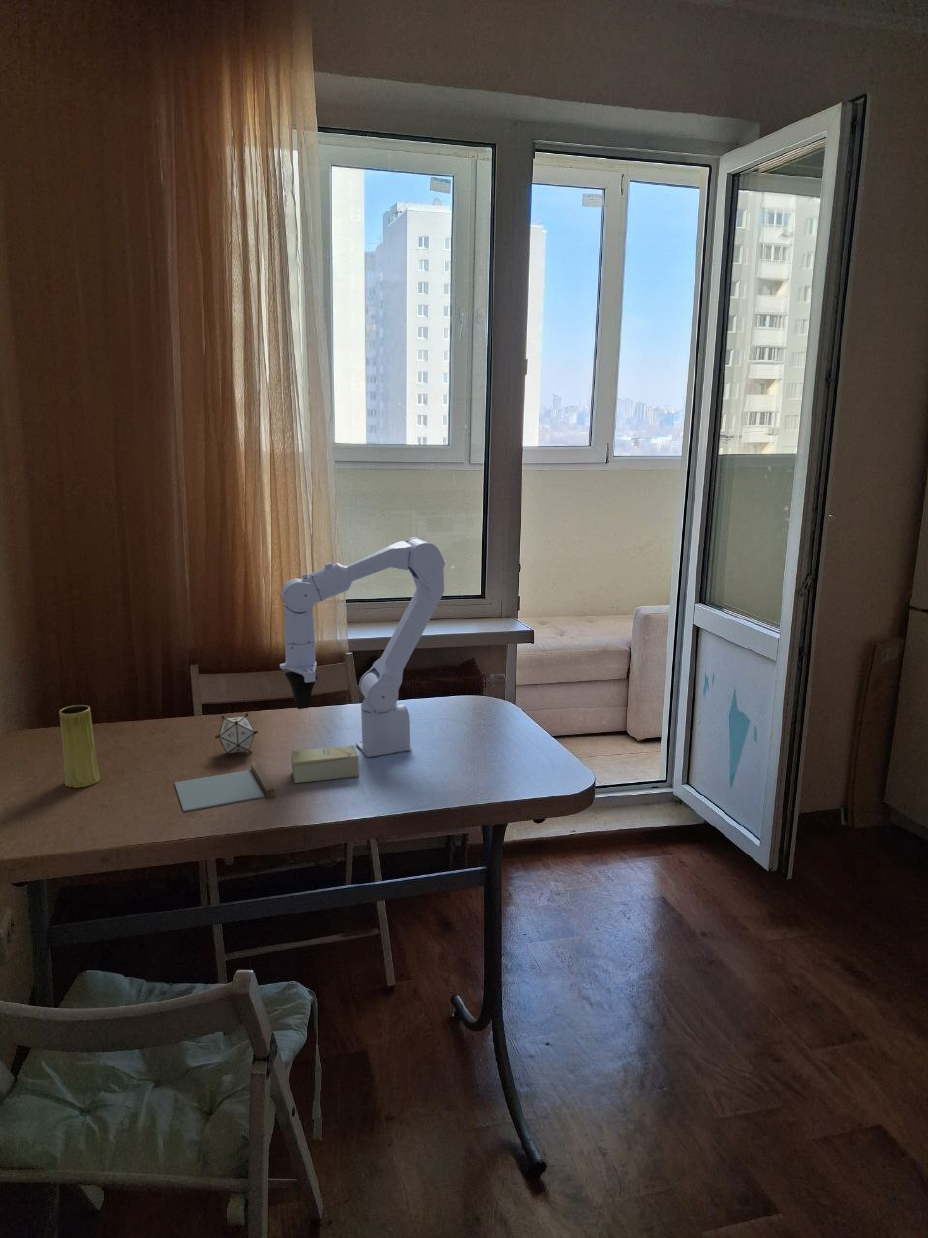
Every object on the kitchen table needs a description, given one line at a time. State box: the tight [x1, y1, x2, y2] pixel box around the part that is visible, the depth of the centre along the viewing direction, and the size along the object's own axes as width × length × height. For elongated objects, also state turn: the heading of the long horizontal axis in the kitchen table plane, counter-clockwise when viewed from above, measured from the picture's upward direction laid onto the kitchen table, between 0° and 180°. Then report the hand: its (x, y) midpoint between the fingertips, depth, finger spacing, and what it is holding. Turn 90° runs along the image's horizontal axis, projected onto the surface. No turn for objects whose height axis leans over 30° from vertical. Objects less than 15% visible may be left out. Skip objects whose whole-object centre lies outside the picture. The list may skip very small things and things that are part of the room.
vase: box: [58, 704, 101, 789], centre depth 161 cm, size 6×6×14 cm
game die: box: [214, 712, 259, 758], centre depth 175 cm, size 9×8×10 cm
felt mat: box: [174, 769, 266, 813], centre depth 158 cm, size 14×13×1 cm
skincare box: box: [290, 744, 360, 784], centre depth 165 cm, size 6×4×12 cm
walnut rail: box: [250, 761, 276, 799], centre depth 161 cm, size 2×14×2 cm, turn 25°
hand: (302, 707), depth 171 cm, fingers closed
